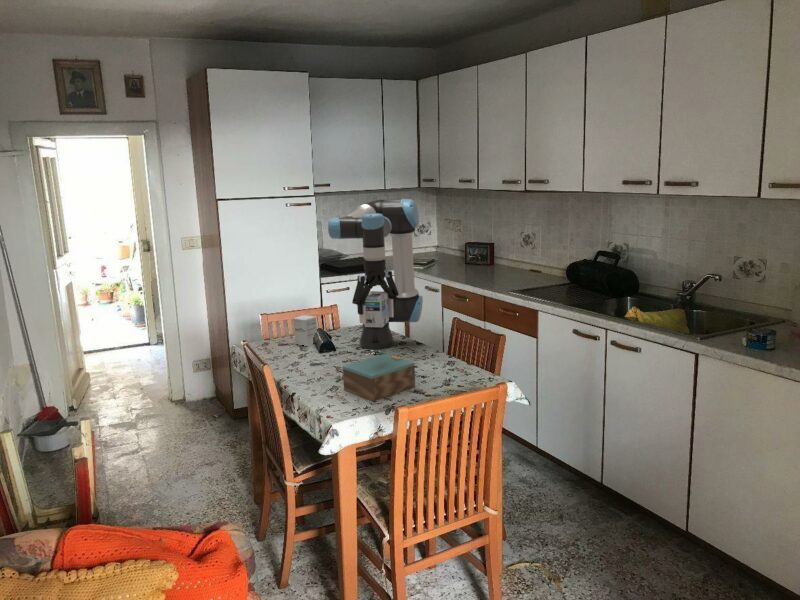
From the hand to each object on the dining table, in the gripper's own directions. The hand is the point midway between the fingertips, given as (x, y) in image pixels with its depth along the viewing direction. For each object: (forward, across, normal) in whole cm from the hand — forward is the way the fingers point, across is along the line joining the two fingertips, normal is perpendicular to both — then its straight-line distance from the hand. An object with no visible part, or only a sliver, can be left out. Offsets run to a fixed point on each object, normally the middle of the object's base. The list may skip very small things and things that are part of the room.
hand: (376, 319), depth 227 cm
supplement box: (+26, -15, -69) cm, 75 cm away
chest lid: (+17, 0, 0) cm, 17 cm away
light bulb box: (+2, 0, 0) cm, 2 cm away
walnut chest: (+25, 0, 0) cm, 25 cm away
